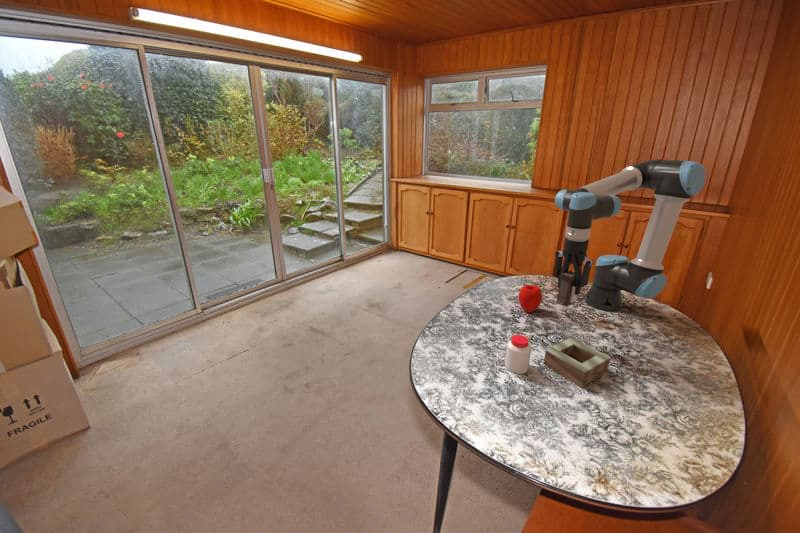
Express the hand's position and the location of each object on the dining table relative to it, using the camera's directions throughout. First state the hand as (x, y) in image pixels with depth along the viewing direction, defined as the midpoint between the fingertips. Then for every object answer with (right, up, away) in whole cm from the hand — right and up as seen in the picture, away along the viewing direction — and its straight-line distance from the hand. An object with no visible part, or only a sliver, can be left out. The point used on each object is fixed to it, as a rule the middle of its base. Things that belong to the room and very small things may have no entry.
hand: (566, 298), depth 128 cm
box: (0, -2, +1) cm, 2 cm away
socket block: (-2, -23, -10) cm, 25 cm away
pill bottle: (-22, -23, -9) cm, 33 cm away
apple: (-4, -8, +28) cm, 29 cm away
